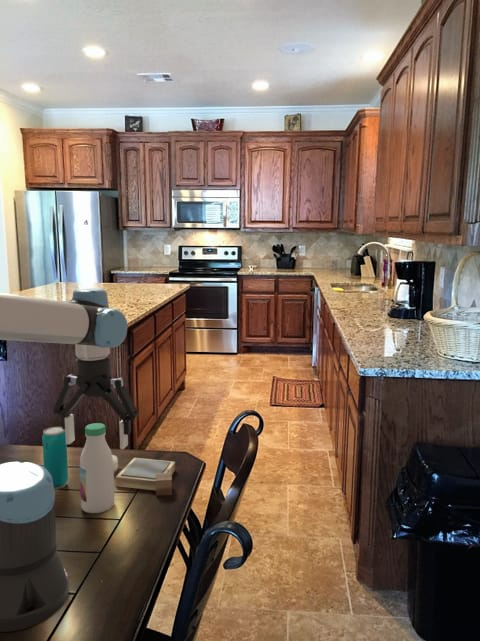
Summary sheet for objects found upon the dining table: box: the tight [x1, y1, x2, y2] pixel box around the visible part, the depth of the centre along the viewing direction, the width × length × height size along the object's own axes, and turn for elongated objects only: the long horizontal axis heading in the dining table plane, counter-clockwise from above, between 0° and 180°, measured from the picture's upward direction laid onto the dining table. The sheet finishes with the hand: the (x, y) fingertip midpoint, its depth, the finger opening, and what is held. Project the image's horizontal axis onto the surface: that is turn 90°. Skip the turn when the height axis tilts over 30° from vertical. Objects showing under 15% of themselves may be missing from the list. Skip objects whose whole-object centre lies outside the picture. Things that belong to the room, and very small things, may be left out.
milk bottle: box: [79, 422, 115, 514], centre depth 117 cm, size 8×8×20 cm
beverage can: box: [41, 426, 69, 491], centre depth 127 cm, size 6×6×15 cm
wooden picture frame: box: [115, 457, 176, 491], centre depth 133 cm, size 12×12×3 cm
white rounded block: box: [112, 454, 119, 474], centre depth 137 cm, size 7×7×3 cm
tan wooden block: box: [155, 472, 173, 497], centre depth 126 cm, size 4×4×4 cm
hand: (97, 444), depth 117 cm, fingers open, 13 cm apart
